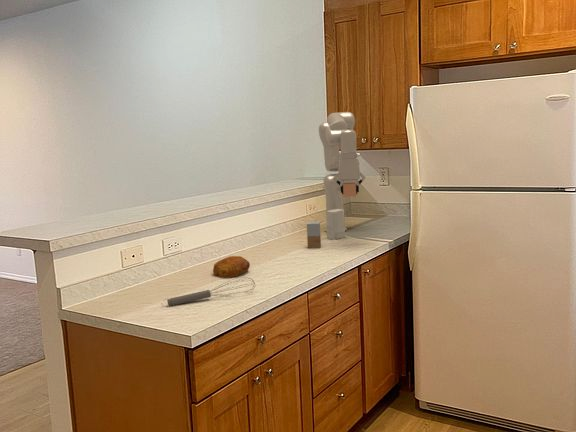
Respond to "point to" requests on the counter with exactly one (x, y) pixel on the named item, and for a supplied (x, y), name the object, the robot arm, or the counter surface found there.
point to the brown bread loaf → (231, 267)
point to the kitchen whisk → (201, 295)
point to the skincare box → (335, 224)
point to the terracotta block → (349, 189)
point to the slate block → (313, 228)
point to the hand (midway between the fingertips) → (349, 193)
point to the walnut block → (314, 241)
